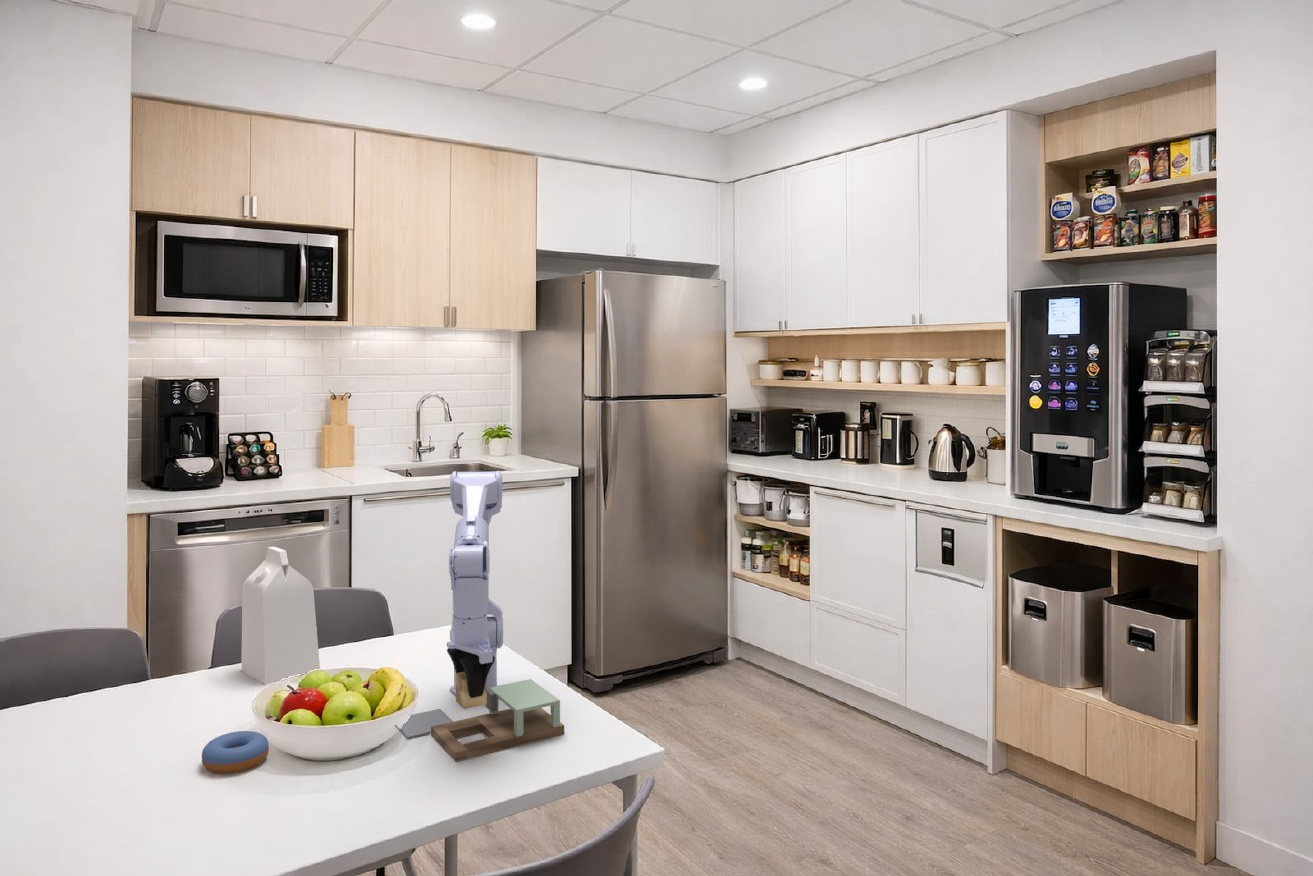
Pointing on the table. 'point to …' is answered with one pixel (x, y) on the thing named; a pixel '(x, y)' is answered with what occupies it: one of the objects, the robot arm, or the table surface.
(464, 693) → the block
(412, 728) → the mat
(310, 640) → the milk
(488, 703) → the cover
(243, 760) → the doughnut
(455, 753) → the board
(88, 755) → the table surface
